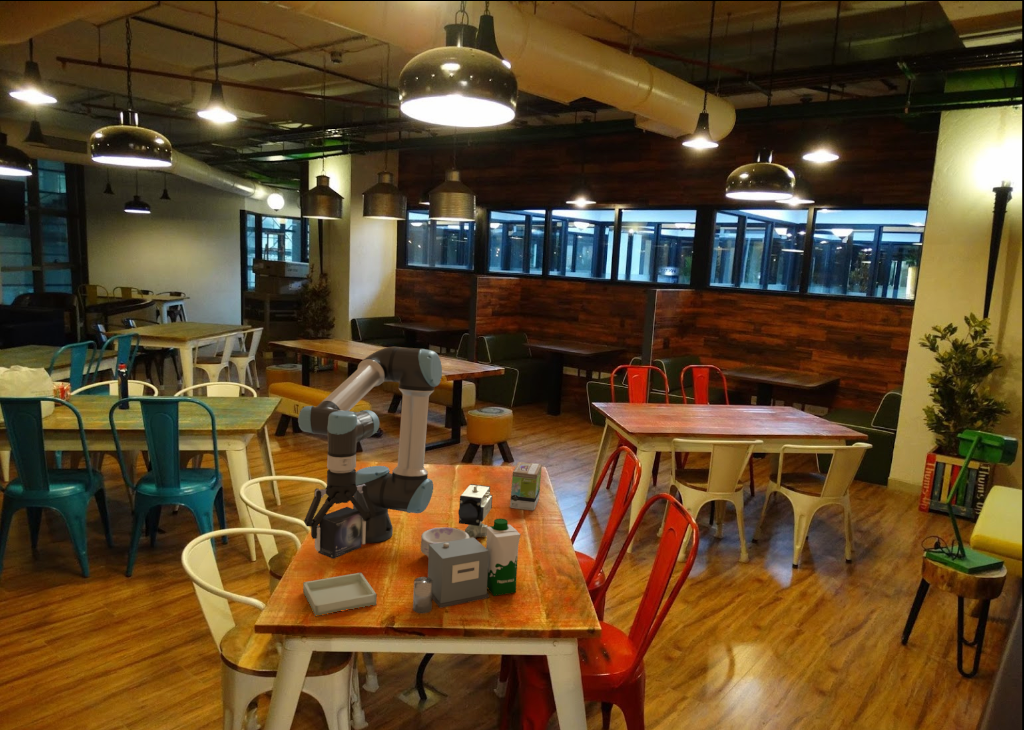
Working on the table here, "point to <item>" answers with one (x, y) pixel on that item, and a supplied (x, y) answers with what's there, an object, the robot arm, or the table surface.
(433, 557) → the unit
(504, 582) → the milk carton
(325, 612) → the tray
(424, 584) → the grey cylinder
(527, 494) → the tea box
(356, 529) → the small box
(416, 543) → the table surface
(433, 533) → the paper bowls
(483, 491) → the ball valve
